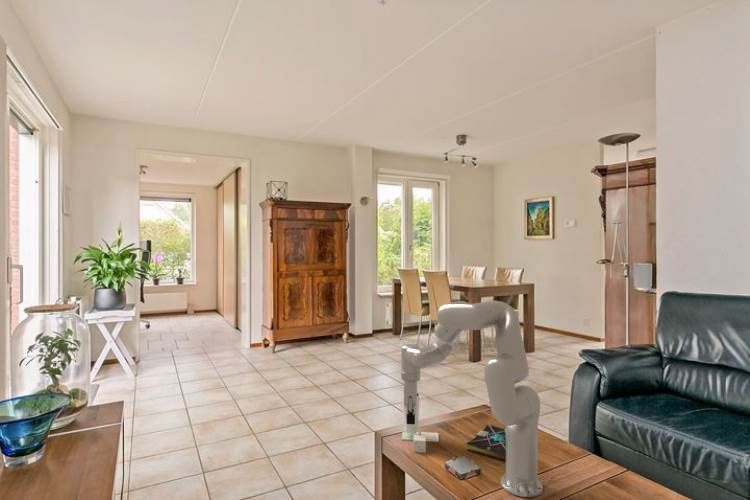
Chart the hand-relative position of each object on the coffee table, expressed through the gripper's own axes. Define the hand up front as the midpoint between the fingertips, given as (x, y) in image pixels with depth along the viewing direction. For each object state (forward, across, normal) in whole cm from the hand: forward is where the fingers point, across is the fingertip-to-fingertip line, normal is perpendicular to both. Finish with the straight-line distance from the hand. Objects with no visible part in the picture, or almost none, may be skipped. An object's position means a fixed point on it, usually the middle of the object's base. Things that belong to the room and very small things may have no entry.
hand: (411, 419), depth 172 cm
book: (+8, +4, +33) cm, 34 cm away
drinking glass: (+5, 0, 0) cm, 5 cm away
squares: (+7, 0, +4) cm, 8 cm away
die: (+7, +10, +4) cm, 13 cm away
